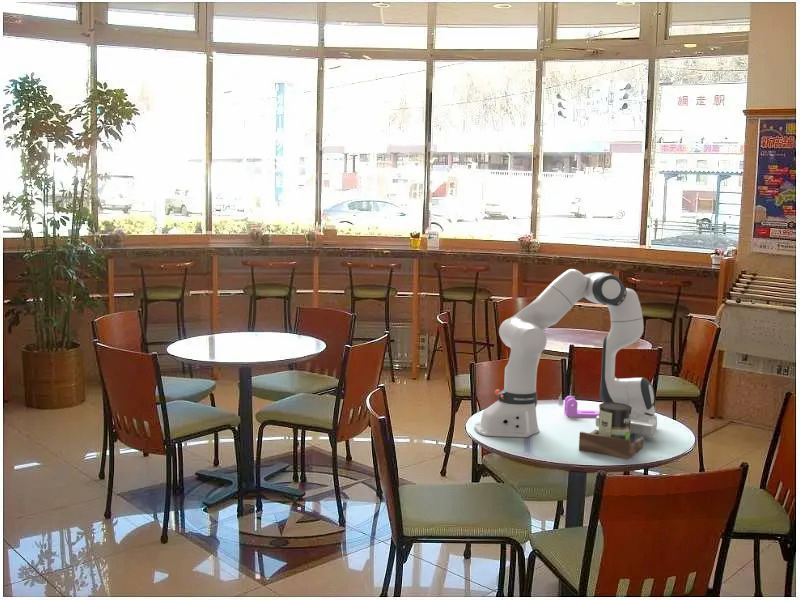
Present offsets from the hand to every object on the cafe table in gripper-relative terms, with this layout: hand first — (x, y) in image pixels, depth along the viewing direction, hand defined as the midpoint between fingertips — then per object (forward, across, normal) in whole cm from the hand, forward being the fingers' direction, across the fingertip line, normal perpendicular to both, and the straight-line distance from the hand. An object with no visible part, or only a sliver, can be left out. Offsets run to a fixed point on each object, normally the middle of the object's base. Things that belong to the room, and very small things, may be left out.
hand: (618, 429), depth 277 cm
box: (+7, 0, +5) cm, 8 cm away
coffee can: (+5, 0, +5) cm, 7 cm away
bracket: (-28, -23, +5) cm, 37 cm away
